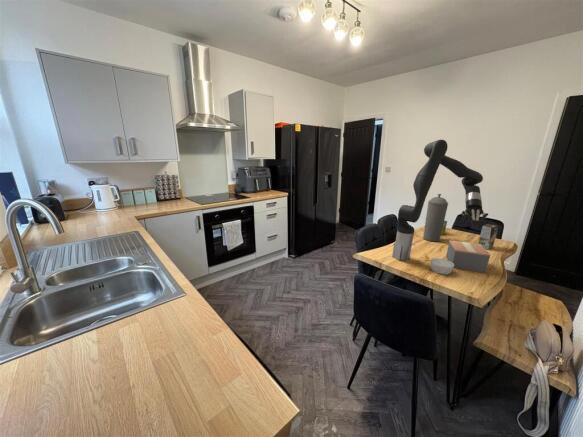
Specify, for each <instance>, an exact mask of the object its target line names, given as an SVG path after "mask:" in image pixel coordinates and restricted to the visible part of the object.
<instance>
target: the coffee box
mask: <svg viewBox="0 0 583 437" xmlns="http://www.w3.org/2000/svg"><path fill="white" fill-rule="evenodd" d="M498 231H499V225H496V224H493V223H492V224H490V223H487V224H483V225H482V228H481V231H480V235H479V240H478V243H477V244H481V245H482V246H483V247H484V249H485V250H486V251H488V250H491V249H493V248H494V246H495V243H496V242H495V240H496V238H497V235H498Z"/></svg>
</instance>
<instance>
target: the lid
mask: <svg viewBox="0 0 583 437" xmlns="http://www.w3.org/2000/svg"><path fill="white" fill-rule="evenodd" d="M449 242H450V244H451V245H452V247H453V248H454V250H455V251H457V252H464V253H471V254H478V255H485V256H490V257H491V254H490V253H489V252H488V250H486V249H484V247H483V246H482V245H481V244H478V243H473V242H467V241H458V240H451V239H450V240H449ZM449 242H448V243H449Z"/></svg>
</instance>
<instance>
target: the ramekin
mask: <svg viewBox="0 0 583 437" xmlns="http://www.w3.org/2000/svg"><path fill="white" fill-rule="evenodd" d="M429 262H430V269H431V270H432V271H433V272H434V273H436V274H440V275H450V274H452V271H453V269H454V268H453V267H454V263H452V262H451V261H449V260H448V259H447V258H446V259H445V258H439V257H435V258H434V257H433V258H431V259H430V261H429Z"/></svg>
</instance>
